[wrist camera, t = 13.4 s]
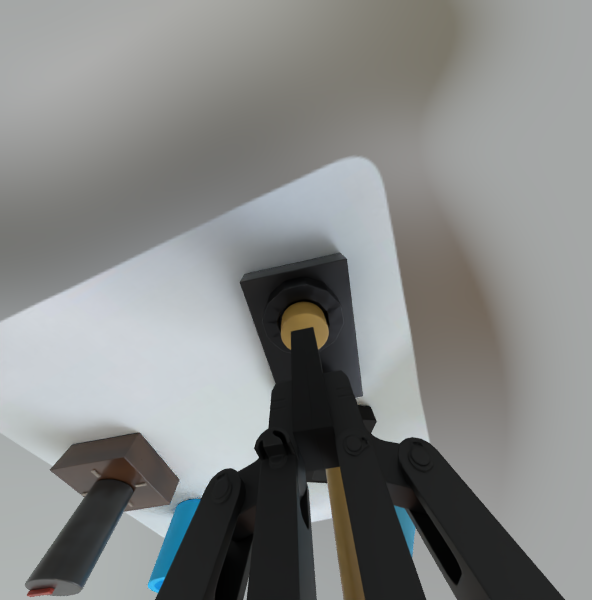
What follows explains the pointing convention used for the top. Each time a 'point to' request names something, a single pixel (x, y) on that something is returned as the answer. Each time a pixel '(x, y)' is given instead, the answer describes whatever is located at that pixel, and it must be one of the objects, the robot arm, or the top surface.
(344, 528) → the lamp
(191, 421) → the top surface
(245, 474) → the robot arm
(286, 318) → the switch
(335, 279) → the lamp base
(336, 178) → the top surface
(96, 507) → the dimmer
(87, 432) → the top surface
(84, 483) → the dimmer panel
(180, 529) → the mug
